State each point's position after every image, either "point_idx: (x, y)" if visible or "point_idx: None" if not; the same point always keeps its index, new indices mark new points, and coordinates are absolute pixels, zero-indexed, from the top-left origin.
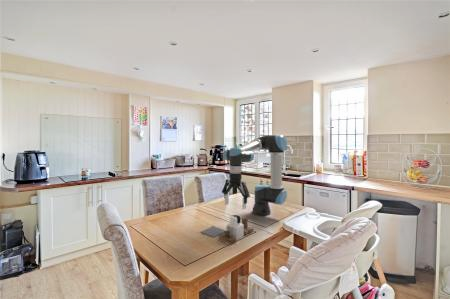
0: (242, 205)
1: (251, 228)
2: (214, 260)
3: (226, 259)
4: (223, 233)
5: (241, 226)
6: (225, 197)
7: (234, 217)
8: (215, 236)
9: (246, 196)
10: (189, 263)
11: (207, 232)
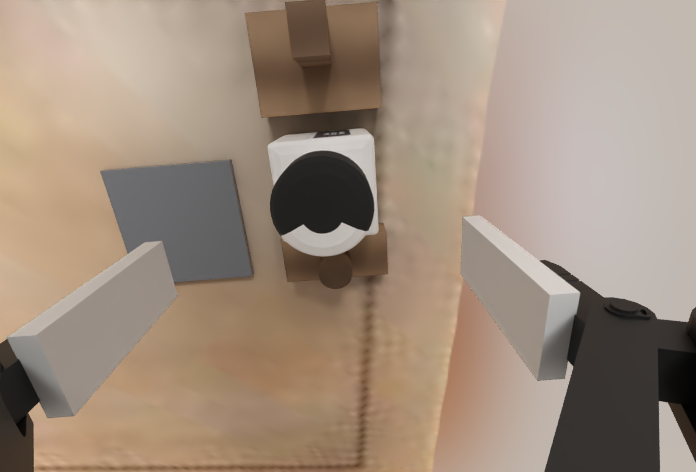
0: (478, 298)
1: (370, 20)
2: (416, 393)
3: (449, 361)
4: (283, 243)
5: (374, 169)
6: (101, 371)
7: (339, 242)
8: (250, 263)
9: (691, 416)
10: (360, 453)
11: (175, 264)
